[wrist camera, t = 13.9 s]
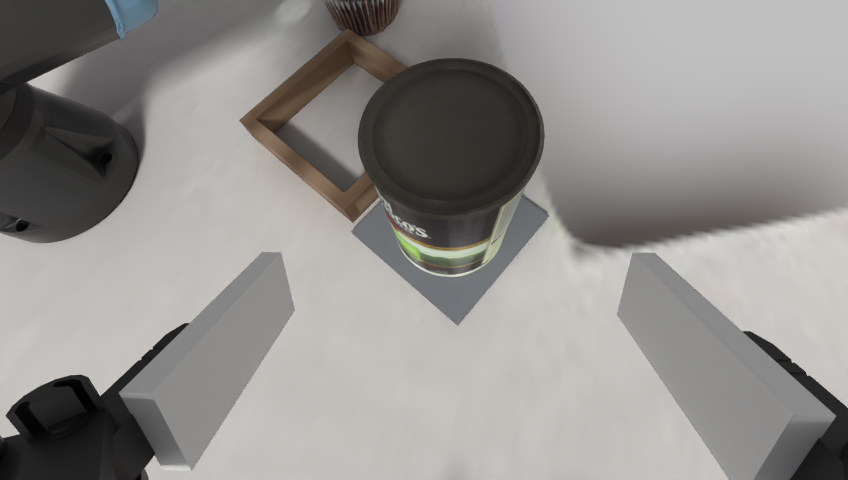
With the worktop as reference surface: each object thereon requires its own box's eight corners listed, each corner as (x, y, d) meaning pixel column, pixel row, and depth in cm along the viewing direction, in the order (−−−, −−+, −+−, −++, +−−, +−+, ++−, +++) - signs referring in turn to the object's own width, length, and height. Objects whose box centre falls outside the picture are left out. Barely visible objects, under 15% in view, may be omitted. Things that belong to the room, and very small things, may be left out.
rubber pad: (352, 233, 34) (351, 231, 33) (441, 143, 36) (441, 139, 36) (457, 325, 30) (457, 324, 30) (547, 218, 33) (549, 215, 32)
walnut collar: (254, 138, 38) (239, 120, 35) (354, 51, 41) (347, 28, 38) (352, 222, 34) (344, 210, 31) (455, 119, 37) (455, 99, 34)
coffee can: (432, 300, 30) (418, 252, 17) (375, 209, 34) (326, 110, 20) (529, 239, 32) (586, 149, 18) (465, 157, 35) (474, 30, 22)
